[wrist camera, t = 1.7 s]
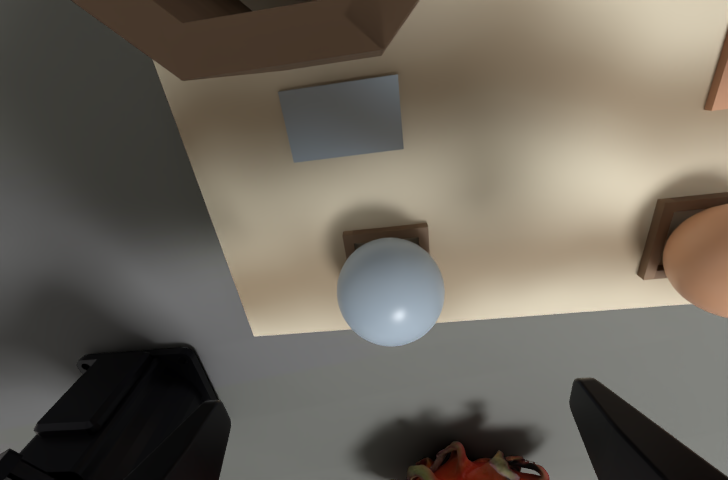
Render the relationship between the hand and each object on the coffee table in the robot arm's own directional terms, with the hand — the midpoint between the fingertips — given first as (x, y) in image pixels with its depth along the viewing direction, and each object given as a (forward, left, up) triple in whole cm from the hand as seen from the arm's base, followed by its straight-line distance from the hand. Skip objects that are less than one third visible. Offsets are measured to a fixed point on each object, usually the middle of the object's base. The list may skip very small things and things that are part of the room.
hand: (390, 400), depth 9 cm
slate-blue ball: (0, 0, -7) cm, 7 cm away
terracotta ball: (0, -12, -7) cm, 14 cm away
